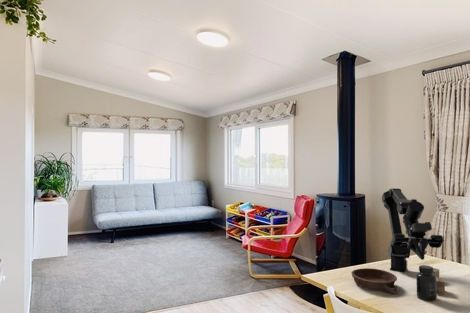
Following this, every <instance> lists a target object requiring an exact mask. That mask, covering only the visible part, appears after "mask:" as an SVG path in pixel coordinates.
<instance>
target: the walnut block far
mask: <svg viewBox="0 0 470 313" xmlns="http://www.w3.org/2000/svg"><path fill="white" fill-rule="evenodd" d="M433 274H434V275H435V276H436V277H437V278H440V268H435V267H433Z"/></svg>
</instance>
